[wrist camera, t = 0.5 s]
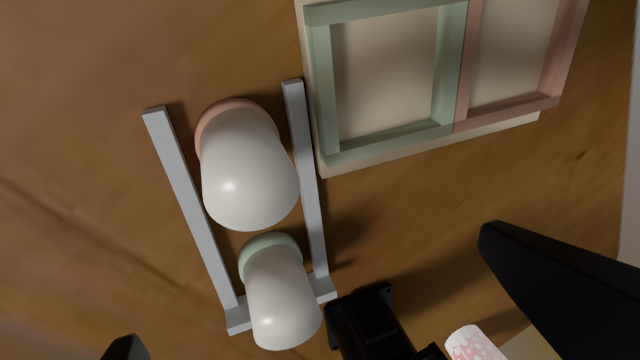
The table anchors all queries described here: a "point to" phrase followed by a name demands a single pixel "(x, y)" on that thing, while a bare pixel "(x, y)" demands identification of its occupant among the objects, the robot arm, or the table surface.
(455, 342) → the beverage cup
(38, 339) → the table surface
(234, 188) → the terracotta-banded sleeve
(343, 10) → the board
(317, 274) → the feeder lane
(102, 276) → the table surface
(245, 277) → the sage-banded sleeve
